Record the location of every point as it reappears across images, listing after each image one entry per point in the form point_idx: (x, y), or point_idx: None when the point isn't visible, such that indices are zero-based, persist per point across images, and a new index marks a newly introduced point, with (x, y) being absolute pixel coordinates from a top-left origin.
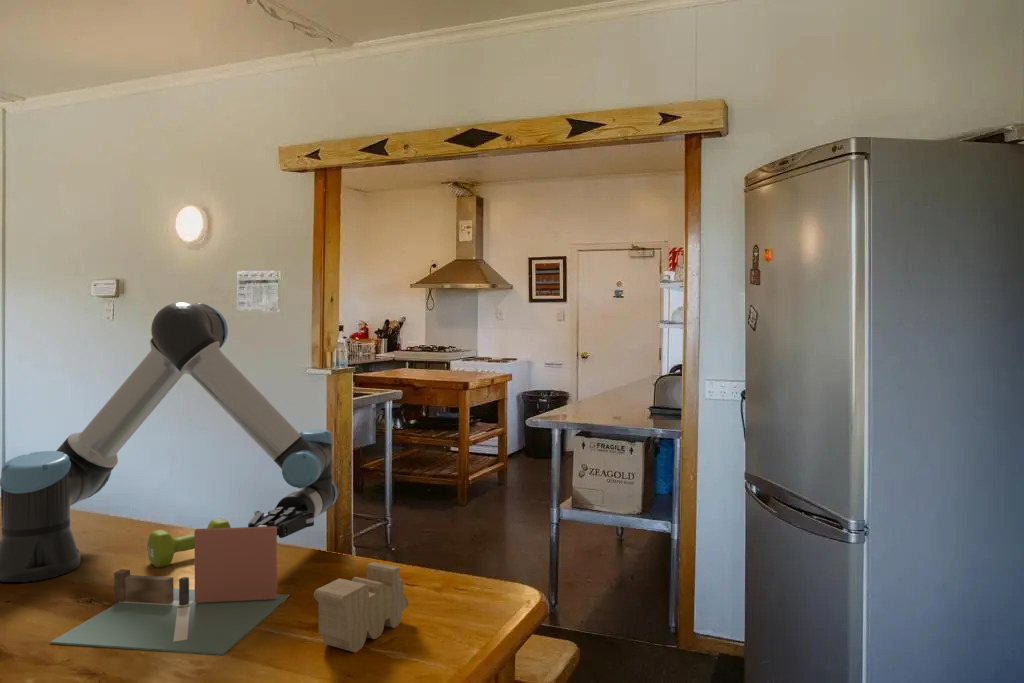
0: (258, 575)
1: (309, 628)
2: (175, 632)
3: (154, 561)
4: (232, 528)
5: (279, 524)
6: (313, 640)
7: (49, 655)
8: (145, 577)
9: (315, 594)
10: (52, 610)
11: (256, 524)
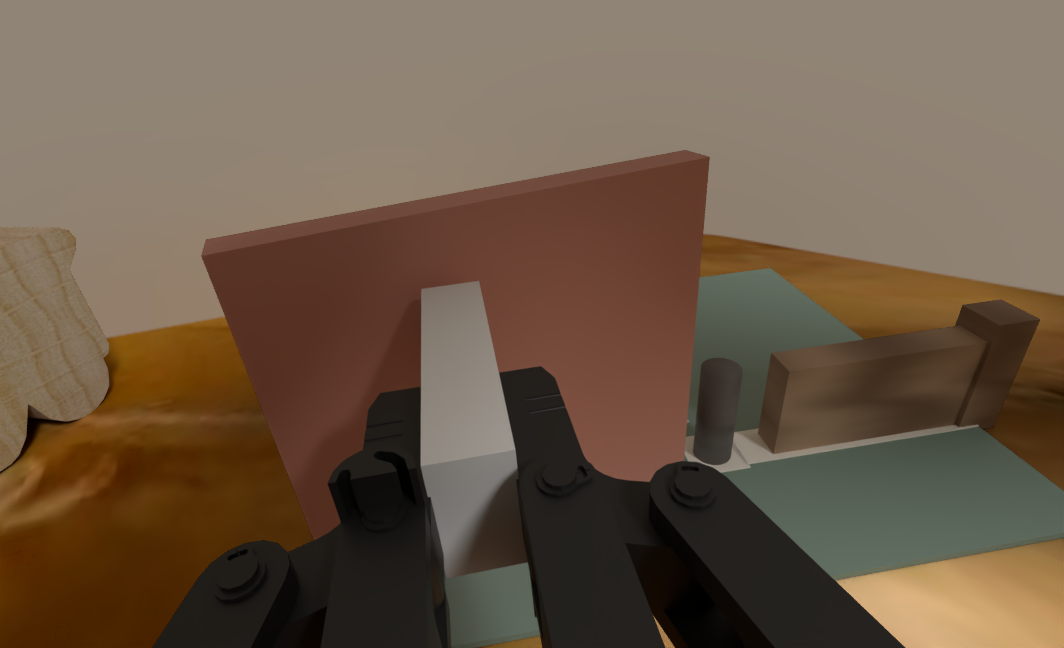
0: None
1: (156, 456)
2: None
3: None
4: (509, 190)
5: (279, 574)
6: (143, 411)
7: (711, 259)
8: (891, 345)
9: (67, 234)
10: (1040, 335)
11: (582, 468)
